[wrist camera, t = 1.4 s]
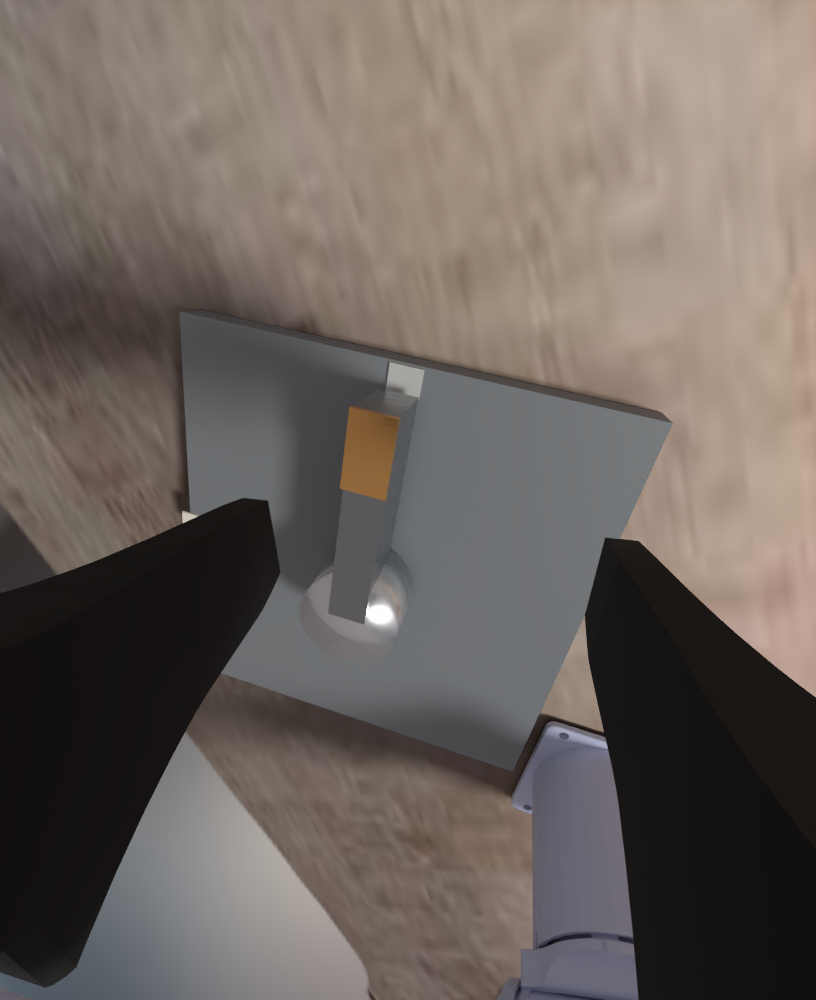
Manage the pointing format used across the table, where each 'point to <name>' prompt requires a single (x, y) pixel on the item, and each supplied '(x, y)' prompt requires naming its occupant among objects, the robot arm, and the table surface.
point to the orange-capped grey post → (366, 537)
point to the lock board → (417, 521)
